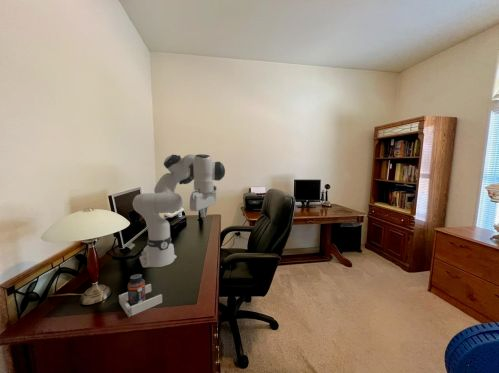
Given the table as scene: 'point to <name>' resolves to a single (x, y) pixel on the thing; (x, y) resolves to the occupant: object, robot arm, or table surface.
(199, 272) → the table surface
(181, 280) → the table surface
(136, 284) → the supplement bottle
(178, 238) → the table surface
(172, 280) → the table surface
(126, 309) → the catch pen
